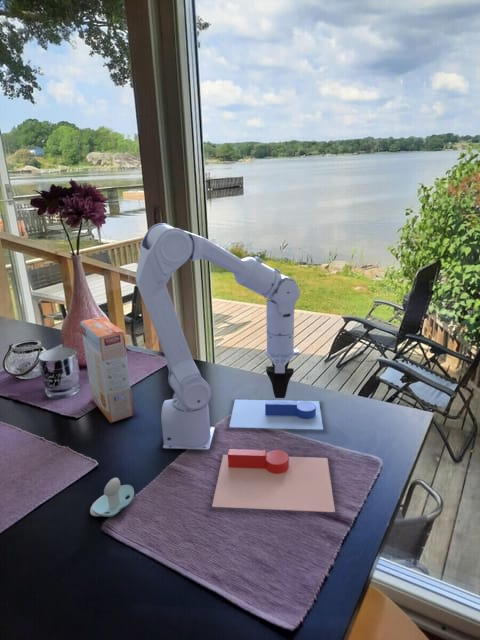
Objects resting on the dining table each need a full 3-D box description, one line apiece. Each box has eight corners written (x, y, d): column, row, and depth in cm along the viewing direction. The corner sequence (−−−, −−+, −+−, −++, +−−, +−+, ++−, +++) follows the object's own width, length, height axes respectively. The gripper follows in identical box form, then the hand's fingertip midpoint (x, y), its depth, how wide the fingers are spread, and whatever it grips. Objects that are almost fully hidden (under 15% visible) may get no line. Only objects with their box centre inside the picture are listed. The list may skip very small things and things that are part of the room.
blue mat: (229, 429, 95) (228, 427, 95) (235, 401, 106) (234, 399, 106) (323, 432, 93) (323, 429, 93) (319, 403, 104) (319, 400, 104)
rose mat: (212, 509, 73) (211, 506, 73) (223, 456, 86) (223, 454, 86) (335, 515, 71) (335, 512, 70) (327, 460, 84) (327, 457, 84)
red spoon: (227, 472, 81) (226, 459, 80) (230, 457, 85) (229, 444, 84) (288, 474, 79) (289, 461, 79) (288, 459, 84) (288, 446, 83)
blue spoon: (265, 418, 97) (265, 407, 96) (265, 408, 102) (265, 397, 101) (316, 419, 96) (316, 408, 95) (315, 409, 100) (315, 398, 100)
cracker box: (135, 416, 101) (125, 330, 94) (110, 424, 98) (97, 337, 91) (115, 392, 112) (104, 314, 106) (91, 399, 109) (78, 320, 102)
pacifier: (82, 514, 73) (105, 528, 69) (75, 482, 71) (99, 496, 68) (116, 488, 78) (140, 500, 75) (111, 458, 77) (135, 469, 73)
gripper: (300, 344, 85) (299, 406, 90) (298, 319, 99) (297, 374, 103) (264, 343, 86) (264, 405, 91) (267, 319, 100) (267, 374, 104)
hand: (280, 388), depth 97 cm, fingers open, 7 cm apart
